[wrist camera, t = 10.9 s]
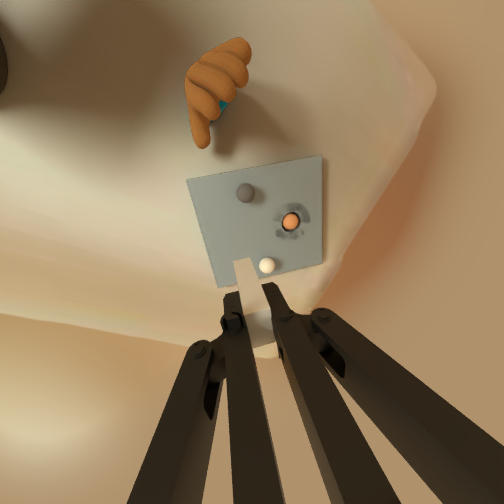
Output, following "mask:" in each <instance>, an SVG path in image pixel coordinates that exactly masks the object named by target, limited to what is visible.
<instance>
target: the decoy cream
mask: <svg viewBox="0 0 504 504" xmlns="http://www.w3.org/2000/svg"><path fill="white" fill-rule="evenodd" d="M259 268H260V270H261V271H262V272H263V273H271V272H272V271H273V270H274V268H275V263H274V261H273V260H272V259H271V258H263V259H262V260H261V261H260V263H259Z"/></svg>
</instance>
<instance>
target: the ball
mask: <svg viewBox="0 0 504 504" xmlns="http://www.w3.org/2000/svg"><path fill="white" fill-rule="evenodd" d="M282 224H283V226H284V227H285V228H286V229H294V228H295V227H296V226H297V225H298V218H297V216H296V215H295V214H292V213H289V214H286V215H285V216H284V217H283V219H282Z"/></svg>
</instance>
